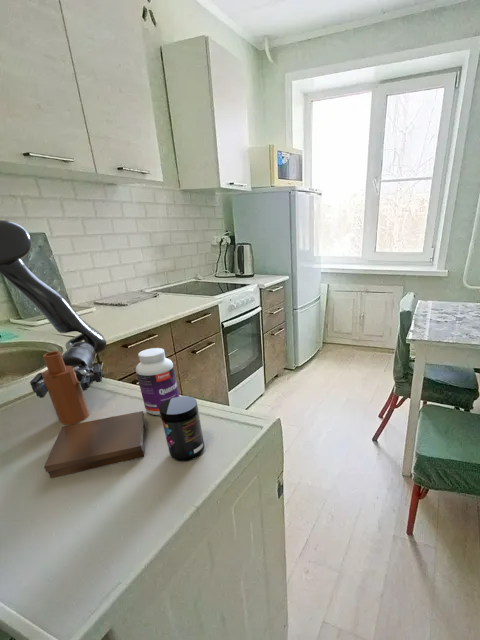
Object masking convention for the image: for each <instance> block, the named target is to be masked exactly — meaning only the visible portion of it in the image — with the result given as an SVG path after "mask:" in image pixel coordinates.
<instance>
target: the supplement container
mask: <svg viewBox="0 0 480 640" xmlns="http://www.w3.org/2000/svg"><path fill="white" fill-rule="evenodd" d="M159 411H160V415H159V416H160V419H161V423H162V427H163V431H164V435H165V441H166V445H167V448H168V453H169V456H170V457H171V458H172V459H173V460H175V461H178V462H188V461H192V460H194V459H196V458H198V457H200V456H201V455H202V454H203V453H204V450H205V439H204V434H203V429H202V424H201V418H200V413H199V406H198V400H197V399H196V398H195V397H193V396H187V395H185V396H183V395H182V396H179V397H175V398H171V399H169V400H167V401H165V402H163V403H162V404H161V405H160V406H159Z"/></svg>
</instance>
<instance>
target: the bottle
mask: <svg viewBox="0 0 480 640" xmlns="http://www.w3.org/2000/svg"><path fill="white" fill-rule="evenodd" d="M62 355H63V354H62V352H61V351H59V350H55V351H49V352H46V353H44V354H43V355H42V357H43V361H44V363H45V365H46V366H45V367H46V368H47V369H45V370H44V371H43V372H41V373H42V377H43V379H44V382H45V385H46V387H47V390H48V392H47V393H48V395H49V398H50V400H51V403H52V405H53V409H54V410H55V413H56V415H57V418H58V421H59V423H60V424H61V425H63V426H67V425H72V424H77V423H82V422H84V420H86V419H88V417H89V415H90V413H89V409H88V407H87V403H86V401H85V397H84V395H83V390H82V387H81V384H79V382H78V379H77V376H76V373H75V370H74V368H73V367H72V366H65V364H64V361H63V358H62Z"/></svg>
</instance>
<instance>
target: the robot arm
mask: <svg viewBox="0 0 480 640" xmlns="http://www.w3.org/2000/svg"><path fill="white" fill-rule="evenodd" d="M32 244H33V243H32V238H31V236H30V234H29V231H27V229H25V227H23V226H22V225H20V224H18V223H17V222H13V221H12V220H11V221H10V220H4V219H0V274H1V275H2V276H3V277H4V278H5V279H6V280H8V282H9V283H10V284H12V285H13V286H14V287H15V288H16V289H18V290H19V291H20V292H21V293H22V294H23V295H24V296H25V297H26V299H28V300H29V301H30V302H31V303H32V304H33V305H34V307H36V308H37V310H39V312H40V313H41V314H42V315H43V316H44V318H45V319H46V320H47V321H48V322H49V324H51V326H52V327H53V328H54V329H55V330H56V331H57V332H58V333H59V334H68V333H73V332H77V333H80V334H78V335H76V336H74V337H72V338H71V339H69V340H67V341H66V342H65V346H64V347H65V351H64V352H63V353H62V354H61V355H62V358H63V361H64V364H65V366H72V367H73V368H74V370H75V373H76V376H77V379H78V382H79V385H80V388H81V391H82V392H84V391H85V392H86V391H88V389H89V388H91V385H93V384H94V382H95V383H100V382H102V381H103V375H104V372H103V369H102V366H101V364H100V363H97V364H95V363H94V362H95V360H96V356H97V354H100V353H101V352H104V350H106V348H107V340H106V338H105V337H104V335H103V334H102V333H101V332H100V331H98V329H96V328H94V327H93V326H91V325H90V324H88V323H87V322H86V321H85V320H84V319H83V318H82V317H81V316H79V314H78V313H77V312H76V310H75V309H74V308H73V307H72V306H71V304H70V303H69V302H68V300H67V299H66V298H64V296H63V295H62V294H60V293H59V292H58V291H57V290H56V289H54V288H53V287H52V286H50V285H49V284H47V283H46V282H44V281H43V280H42V279H41V278H39V277H38V276H37V275H36V274H35V273H34V272H32V270H30V268H29V267H28V266H27V265H26V263H25V262H24V261H23V259H24V258H26V257H27V256H28V255H29V253H30V252H31V249H32ZM42 373H43V372H39V373H37V374H36V375H35V376H34V377H33V378H32V379H31V380H30V382H29V384H30V386H31V389H32V392H33V393H35V394H36V397H38V398H39V399H42V398H45V397H46V395H47V393H49V392H48V390H47V387H46V385H45V382H44V379H43V377H42Z"/></svg>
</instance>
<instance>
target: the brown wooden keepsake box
mask: <svg viewBox="0 0 480 640" xmlns="http://www.w3.org/2000/svg"><path fill="white" fill-rule="evenodd" d="M146 428H147V422H146V419H145V413H144V410H141V411H140V410H139V411H136V412H129V413H125V414H124V413H123V414H120V415H115V416H109V417H103V418H98V419H93V420H89V421H81V422H78V423H75V424H69V425H62V426H61V427H60V429H59V432H58V435H57V436H56V439H55V441H54V443H53V445H52V448H51V450H50V452H49V454H48V456H47V459H46V461H45V462H44V465H43V469H44V470H45V472H46V473H48V476H49V478H50V479H53V478H57V477H62V476H66V475H70V474H74V473H75V474H76V473H79V472H84V471H89V470H92V469H93V470H94V469H97V468H102V467H105V466H110V465H115V464H119V463H124V462H129V461H134V460H138V459H143V458H145V457H146V455H145V454H146V453H145V451H146V450H145V446H144V429H146Z"/></svg>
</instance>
